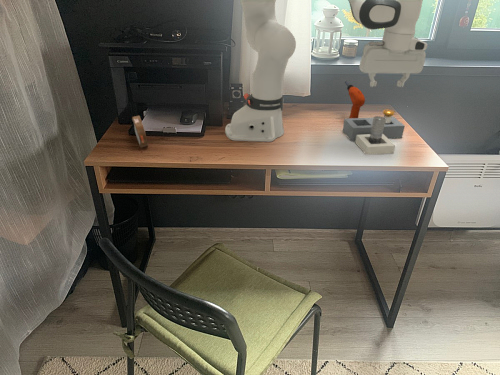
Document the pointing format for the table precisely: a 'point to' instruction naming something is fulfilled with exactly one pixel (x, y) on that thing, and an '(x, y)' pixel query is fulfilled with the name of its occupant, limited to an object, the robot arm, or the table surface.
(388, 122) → the gold topped white cylinder
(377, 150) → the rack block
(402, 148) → the table surface
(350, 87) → the toy drill
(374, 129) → the grey metal peg
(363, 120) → the socket block
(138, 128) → the tin
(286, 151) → the table surface
